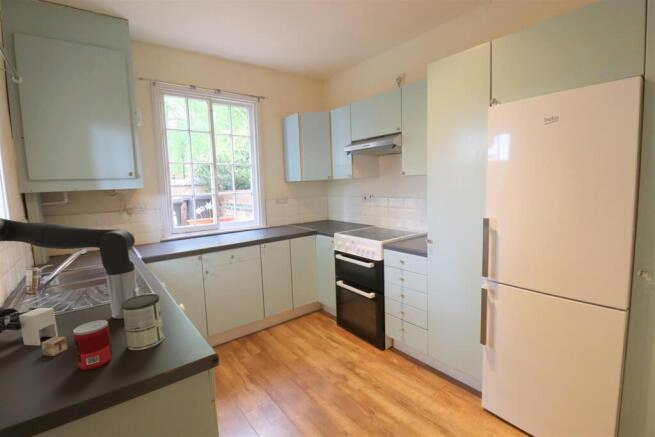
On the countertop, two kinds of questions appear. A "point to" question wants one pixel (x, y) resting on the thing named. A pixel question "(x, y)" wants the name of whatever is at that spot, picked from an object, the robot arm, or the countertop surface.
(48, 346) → the letter block
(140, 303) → the coffee can
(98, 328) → the canned food
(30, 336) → the cover
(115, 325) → the countertop surface
